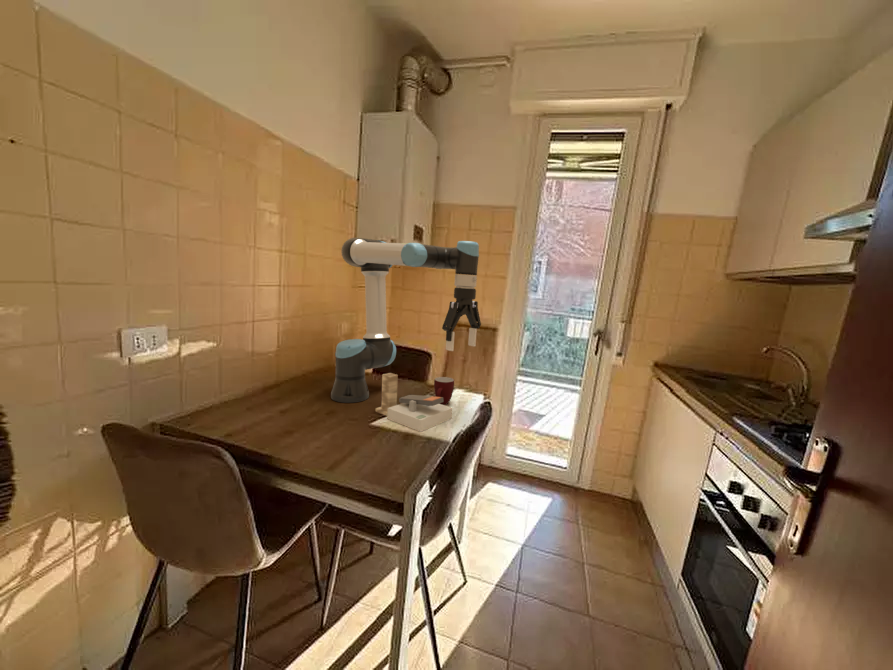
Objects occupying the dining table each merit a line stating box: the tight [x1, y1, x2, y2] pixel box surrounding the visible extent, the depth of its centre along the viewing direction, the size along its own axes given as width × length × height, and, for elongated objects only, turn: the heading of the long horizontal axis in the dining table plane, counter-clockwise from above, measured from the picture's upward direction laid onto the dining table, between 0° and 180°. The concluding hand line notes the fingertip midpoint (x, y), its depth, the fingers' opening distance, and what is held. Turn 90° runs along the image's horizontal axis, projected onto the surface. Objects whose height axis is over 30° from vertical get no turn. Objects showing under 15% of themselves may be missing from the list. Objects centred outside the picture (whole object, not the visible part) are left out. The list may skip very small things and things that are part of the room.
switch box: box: [386, 394, 453, 433], centre depth 136 cm, size 16×17×8 cm
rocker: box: [398, 394, 444, 406], centre depth 135 cm, size 16×6×2 cm, turn 52°
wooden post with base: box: [375, 372, 399, 416], centre depth 141 cm, size 7×7×14 cm
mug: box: [433, 376, 455, 406], centre depth 152 cm, size 11×8×10 cm
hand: (461, 348), depth 133 cm, fingers open, 13 cm apart
